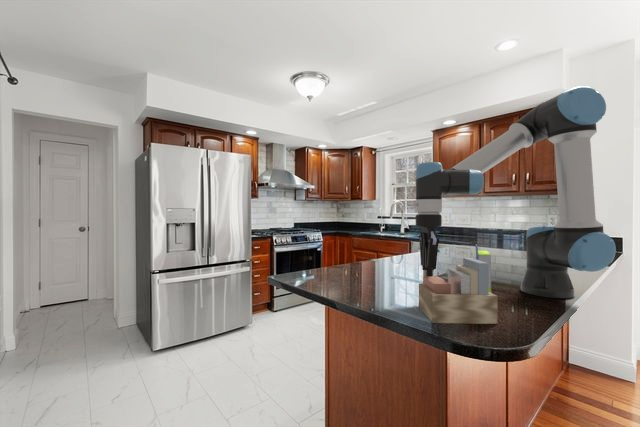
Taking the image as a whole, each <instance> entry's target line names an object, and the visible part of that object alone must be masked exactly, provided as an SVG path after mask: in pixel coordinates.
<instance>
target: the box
mask: <svg viewBox="0 0 640 427" xmlns="http://www.w3.org/2000/svg"><path fill="white" fill-rule="evenodd" d="M491 258H492V255H491V253H490V252H489V250H479V247H478V245H477V244H475V259H476V260H480V261H483V262H486V263H489V292H490V293H492V259H491Z"/></svg>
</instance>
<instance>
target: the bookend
mask: <svg viewBox="0 0 640 427" xmlns="http://www.w3.org/2000/svg"><path fill="white" fill-rule="evenodd" d="M447 282H448V283H450V284H451V294H466V295H470V275H469V274H466V273H464V272H462V271H460V270H458V269H456V268H448V269H447Z"/></svg>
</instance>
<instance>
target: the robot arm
mask: <svg viewBox="0 0 640 427" xmlns="http://www.w3.org/2000/svg"><path fill="white" fill-rule="evenodd" d="M606 111H607V104H606V100H605V98H604V97H603V95H602V93H600V92H599V91H597V90H596V89H595V88H593V87H590V86H584V85H583V86H576V87H573V88H571V89H568V90H567V89H566V90H565V91H563V92H561V93H559V94H558V95H556V96H554V97H552V98H550V99H548V100H545V101H544V102H542V103H540V104H537V105H536V106H535V107H534V108H532V109H531V110H530V111H528V112H527V113H526V114H524V115H523V116H522V117H521V118H519V119H518V120H517V121H515V122H514V123H512V124H511V125H509V129H508V130H507V131H505V132H503V134H501V135H499V136H498V137H496V138H495V139H493V140H491V141H490V142H489V143H487V144H485V145H483V147H481V148H480V149H477V151H475V152H473V153H472V154H471V155H469V156H467V157H466V158H464V159H463V160H461V161H459V163H456V165H454V166H453V167H451V168H450V169H446V168H445V169H443V165H442V163H441V162H438V161H427V162H421V163H419V164H417V165H416V169H415V177H414V178H415V179H414V180H415V202H414V203H413V206H415V212H416V213H417V214H416V215H415V226H416V227H417V228H418V227H419V228H421V231H420V233H419V235H418V240H419V241H418V242H419V254H420V255H419V256H420V258H419V259H420V266H421V268H422V277H423V276H434V270H437V259H438V249H439V243H440V238H439V237H438V235H437V232H436V228H440V227H442V225H443V224H442V221H443V220H442V219H443V218H442V215H441V214H440V213H442V211H443V198H447V197H452V196H459V195H460V196H461V195H469V196H470V195H479V194H480V193H481V192H482V190H483V188H484V186H485V178H484V175H483V174H484V173H486V172H487V171H489V170H490V169H492V168H494V167H495V166H496V165H498V164H499V163H501V162H503V161H504V160H506V159H508V158H509V157H510V156H512V155H513V154H516V153H517V152H518V151H519V150H521V149H523V148H526V149H527V148H530V147H531V146H533V145H534V144H536V143H539V142H540V141H543V140H545V139H547V141H549V142H550V143H552V145H554V156H555V157H554V160H555V174H556V188H557V190H556V191H557V206H558V219H559V220H558V222H557V223H555V224H554V225H543V226H541V225H540V226H531V227H529V228H528V229H527V230H526V235H525V236H526V237H525V240H526V242H525V243H526V248H525V249H526V250H525V252H526V270H525V271H524V272H525V273H524V275H523V277H522V279H521V280H522V281H521V283H520V291H521V292H523V293H525V294H529V295H532V296H537V297H541V298H542V297H543V298H551V299H570V298H574V297H575V288H574V286H573V282H572V280H571V278H570V275H569V272H568V269H573V270H575V271H579V272H591V273H592V272H593V273H594V272H598V271H602V270H604V269H606V268H607V267H608V265H610V264H611V263H612V262H613V261H614V259H615V256H616V252H617V248H616V247H617V246H616V243H615V241H614V239H613V238H611V236H610V235H608V234H606V233H605V232H604V225H603V224H604V223H603V224H602V223H601V222H600V221H598V220H597V218H596V217H597V216H596V204H595V203H596V202H595V190H594V189H595V186H594V174H593V161H592V160H593V159H592V157H593V156H592V147H591V145H592V144H591V139H592V137H593V136H595V135H596V134H597V123H598V122H600V120H602V118H603V116H605V114H606Z"/></svg>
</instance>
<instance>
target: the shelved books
mask: <svg viewBox="0 0 640 427" xmlns="http://www.w3.org/2000/svg"><path fill="white" fill-rule="evenodd" d="M462 262H463V264H456V265H455V269H458V270H460V271H462V272H464V273H466V274H469V275H470V295H489V263H486V262H483V261H480V260H476V258H473V257H463V258H462Z"/></svg>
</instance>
